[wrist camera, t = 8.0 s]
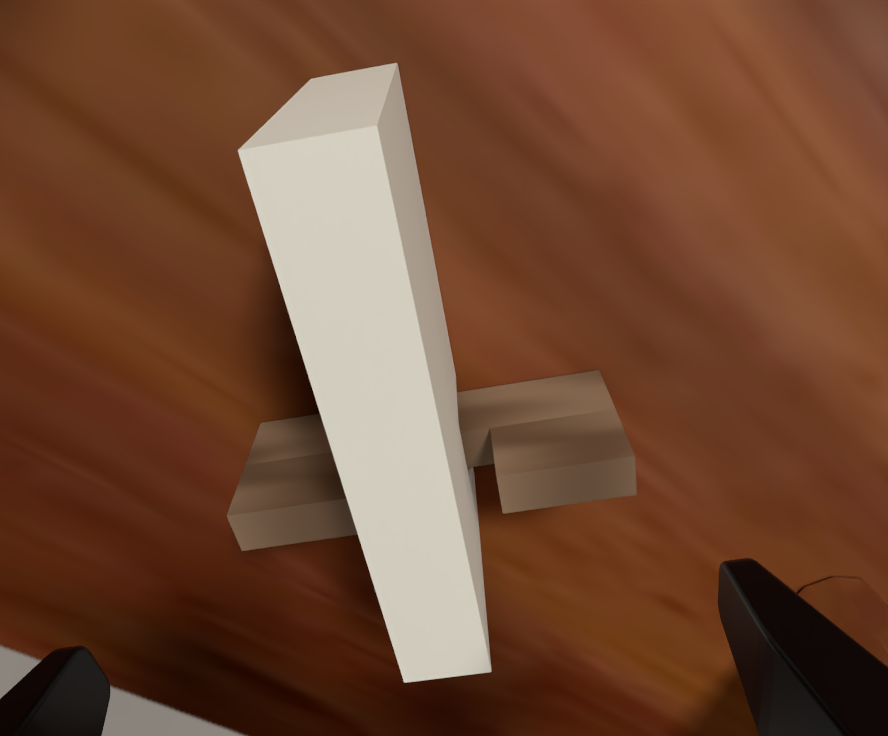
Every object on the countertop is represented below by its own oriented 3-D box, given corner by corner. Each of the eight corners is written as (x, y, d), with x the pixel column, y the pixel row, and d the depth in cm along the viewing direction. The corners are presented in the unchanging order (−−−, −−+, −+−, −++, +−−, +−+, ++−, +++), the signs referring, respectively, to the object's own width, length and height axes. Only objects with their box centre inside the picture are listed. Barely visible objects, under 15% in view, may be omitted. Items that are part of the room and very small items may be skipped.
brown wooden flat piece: (272, 455, 21) (242, 550, 18) (260, 422, 21) (226, 515, 17) (601, 404, 20) (636, 494, 17) (599, 370, 20) (634, 456, 16)
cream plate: (474, 474, 22) (491, 671, 16) (411, 483, 22) (404, 682, 16) (397, 62, 16) (376, 125, 10) (311, 78, 16) (237, 150, 10)
